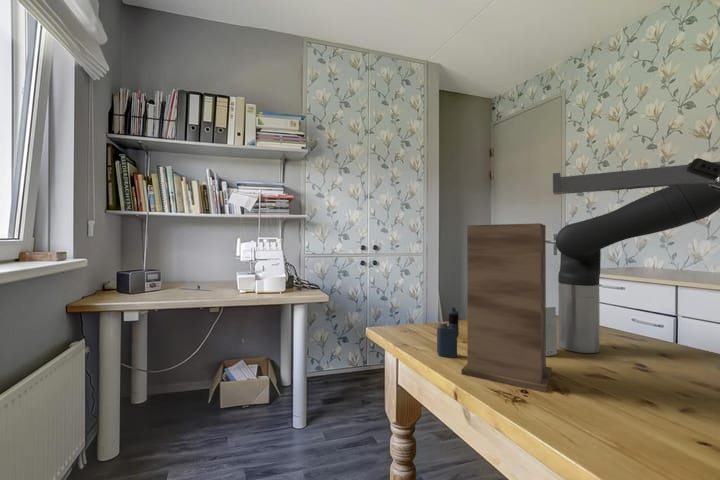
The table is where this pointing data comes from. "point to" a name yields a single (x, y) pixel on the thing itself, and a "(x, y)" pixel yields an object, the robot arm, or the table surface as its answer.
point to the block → (628, 180)
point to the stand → (507, 304)
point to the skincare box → (551, 331)
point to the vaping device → (448, 336)
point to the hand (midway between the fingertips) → (689, 166)
